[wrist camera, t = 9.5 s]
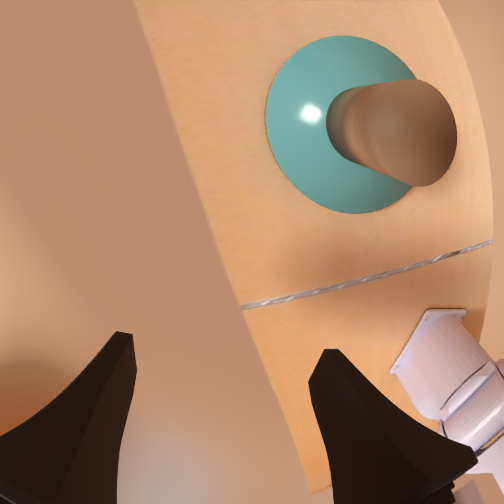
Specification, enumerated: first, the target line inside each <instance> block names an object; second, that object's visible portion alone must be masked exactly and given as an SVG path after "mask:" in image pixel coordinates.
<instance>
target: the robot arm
mask: <svg viewBox="0 0 504 504" xmlns="http://www.w3.org/2000/svg"><path fill="white" fill-rule="evenodd" d="M466 313H467V311H466V310H465V309H429V310H427V311H426V312H425V313H424V315H423V317H422V319H421V320H420V322H419V324H418V326H417V328H416V329H415V331H414V333H413V334H412V336H411V338H410V340H409V341H408V343H407V345H406V346H405V348H404V349H403V351H402V353H401V354H400V356H399V357H398V359H397V360H396V362H395V363H394V365H393V366H392V368H391V369H390V371H389V372H390V374H396V375H397V377H398V379H399V380H400V382H401V384H402V386H403V387H404V389H405V391H406V393H407V394H408V396H409V398H410V400H411V401H412V403H413V405H414V407H415V408H416V410H417V411H418V412H419V413H420V414H421V415H423V416H424V417H426V418H428V419H432V420H438V419H441V420H440V421H439V423H438V431H437V433H436V432H434V431H432V430H430V429H429V428H427V427H425V426H424V425H422V424H420V423H419V422H417V421H416V420H414V419H413V418H411V417H410V416H409V415H407V414H406V413H405V412H403V411H402V410H401V409H399V408H398V407H397V406H396V405H394V404H393V403H392V402H391V401H390V400H389V399H388V398H386V397H385V396H384V395H383V394H382V393H381V392H380V391H379V390H378V389H377V388H376V387H375V386H374V385H373V384H372V383H371V382H370V381H369V380H368V379H367V378H366V377H365V376H364V375H363V374H362V373H361V372H360V371H359V370H358V369H357V368H356V367H355V366H354V365H353V364H352V363H351V362H350V361H349V360H348V359H347V358H346V356H345V355H344V354H343V353H342V352H341V351H340V350H338V349H324V351H323V353H322V355H321V357H320V359H319V361H318V363H317V365H316V367H315V369H314V371H313V373H312V375H311V377H310V379H309V381H308V383H309V390H310V396H311V402H312V406H313V409H314V412H315V416H316V419H317V422H318V425H319V428H320V432H321V435H322V438H323V441H324V444H325V447H326V451H327V455H328V461H329V466H330V472H331V480H332V487H333V499H334V504H484V502H483V499H482V497H481V495H480V493H479V490H478V488H477V486H476V484H475V482H474V480H471V481H470V482H469V483H467V484H465V485H464V486H462V487H461V488H459V489H458V490H456V491H455V492H453V493H452V491H451V489H452V488H454V487H455V485H454V483H453V481H454V480H456V479H457V478H458V477H460V476H461V475H463V474H464V473H465V474H476V473H492V474H493V475H494V477H495V479H496V481H497V483H498V485H499V487H500V489H501V490H502V492H503V494H504V433H503V434H502V435H501V436H499V437H498V438H497V439H496V440H495V441H494V442H493V443H491V444H490V445H489V446H488V447H486V448H484V449H480V448H482V447H483V446H484V445H485V444H486V443H488V442H489V441H490V440H491V439H492V438H493V437H494V436H496V435H497V434H498V433H499V432H500V431H501V430H502V429H503V428H504V359H500V360H499V361H498V362H497V363H496V362H494V361H493V360H492V359H491V358H490V356H489V355H488V354H487V353H486V351H485V350H484V349H483V348H482V347H481V345H480V344H479V343H478V342H477V341H476V340H475V338H474V337H473V336H472V335H471V334H470V333H469V332H468V331H467V329H466V328H465V327H464V326H463V325H462V324H461V322H462V320H463V318H464V317H465V315H466ZM136 373H137V367H136V360H135V352H134V343H133V334H129V333H123V332H118V331H117V332H115V333H114V334H113V335H112V337H111V338H110V339H109V340H108V342H107V343H106V344H105V345H104V347H103V348H102V349H101V350H100V352H99V353H98V354H97V355H96V356H95V357H94V359H93V360H92V361H91V362H90V363H89V364H88V365H87V367H86V368H85V369H84V370H83V371H82V372H81V373H80V374H79V375H78V376H77V377H76V378H75V379H74V380H73V382H71V383H70V384H69V386H68V387H67V388H66V389H64V390H63V391H62V392H61V393H60V394H59V395H58V396H57V397H56V398H55V399H54V400H52V401H51V402H50V403H49V404H48V405H46V406H45V407H44V408H43V409H41V410H40V411H39V412H37V413H36V414H35V415H34V416H32V417H31V418H29V419H28V420H26V421H25V422H23V423H22V424H20V425H19V426H17V427H16V428H14V429H12V430H11V431H9V432H7V433H5V434H4V435H2V436H0V504H117V473H118V462H119V451H120V445H121V440H122V436H123V431H124V427H125V424H126V420H127V416H128V412H129V408H130V405H131V401H132V397H133V393H134V386H135V380H136Z"/></svg>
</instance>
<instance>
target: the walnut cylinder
mask: <svg viewBox="0 0 504 504" xmlns="http://www.w3.org/2000/svg"><path fill="white" fill-rule="evenodd" d="M326 130H327V134H328V137H329V140H330V142H331V144H332V146H333V147H334V149H335V150H336V151H337V152H338V153H339V154H340V155H341V156H342V157H344V158H345V159H347V160H348V161H351V162H353V163H356V164H359V165H362V166H364V167H367V168H370V169H372V170H375V171H377V172H380V173H382V174H385V175H387V176H390V177H392V178H394V179H397V180H399V181H402V182H404V183H406V184H409V185H412V186H418V187H420V186H427V185H430V184H433V183H434V182H436V181H438V180H439V179H440V178H441V177H442V176H443V175H444V174H445V173H446V172H447V170H448V169H449V167H450V165H451V163H452V161H453V158H454V155H455V151H456V145H457V129H456V123H455V119H454V115H453V113H452V110H451V108H450V106H449V104H448V102H447V101H446V99H445V98H444V96H443V95H442V94H441V93H440V92H439V91H438V90H437V89H436V88H435V87H433V86H432V85H430V84H429V83H427V82H424V81H421V80H417V79H408V80H399V81H392V82H385V83H378V84H372V85H366V86H361V87H355V88H350V89H347V90H345V91H343V92H341V93H340V94H338V95H337V96H336V97H335V98H334V99H333V101H332V102H331V104H330V106H329V108H328V111H327V116H326Z"/></svg>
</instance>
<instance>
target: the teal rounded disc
mask: <svg viewBox="0 0 504 504" xmlns="http://www.w3.org/2000/svg"><path fill="white" fill-rule="evenodd" d="M408 79H416V77H415V76H414V74H413V73H412V71H411V70H410V69H409V68H408V67H407V66H406V64H405V63H404V62H403V61H402V60H401V59H399V58H398V57H397V56H396V55H395V54H393V53H392V52H391V51H389V50H388V49H386V48H385V47H383V46H381V45H379V44H377V43H375V42H372V41H369V40H367V39H363V38H359V37H353V36H332V37H327V38H322V39H319V40H317V41H314V42H311V43H310V44H308V45H306V46H304V47H303V48H301V49H300V50H299V51H297V52H296V53H295V54H294V55H292V56H291V57H290V58H289V59H288V60H287V61H286V62H285V63H284V64H283V66H282V67H281V68H280V69H279V71H278V72H277V74H276V76H275V77H274V79H273V81H272V84H271V86H270V88H269V92H268V95H267V99H266V106H265V129H266V136H267V139H268V143H269V147H270V149H271V152H272V154H273V157H274V159H275V161H276V162H277V164H278V166H279V168H280V169H281V171H282V172H283V173H284V175H285V176H286V177H287V179H288V180H289V181H290V182H291V183H292V184H293V185H294V186H295V187H296V188H297V189H298V190H299V191H301V192H302V193H303V194H304V195H306V196H307V197H308V198H309V199H311V200H313V201H314V202H316V203H318V204H319V205H321V206H324V207H326V208H328V209H331V210H334V211H338V212H343V213H350V214H358V213H368V212H373V211H376V210H380V209H382V208H384V207H387V206H389V205H391V204H392V203H394V202H395V201H397V200H398V199H400V198H401V197H402V196H403V195H405V194H406V193H407V192H408V190H409V189H410V188H411V187H412V185H409V184H406V183H404V182H402V181H399V180H397V179H394V178H392V177H390V176H387V175H385V174H382V173H380V172H377V171H375V170H372V169H370V168H367V167H364V166H362V165H359V164H356V163H353V162H351V161H348V160H347V159H345V158H344V157H342V156H341V155H340V154H339V153H338V152H337V151H336V150H335V149H334V147H333V146H332V144H331V142H330V140H329V137H328V134H327V130H326V116H327V111H328V108H329V106H330V104H331V102H332V101H333V99H334V98H335V97H336V96H337V95H338V94H340V93H341V92H343V91H345V90H347V89H350V88H355V87H361V86H366V85H372V84H378V83H385V82H392V81H399V80H408Z"/></svg>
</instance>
